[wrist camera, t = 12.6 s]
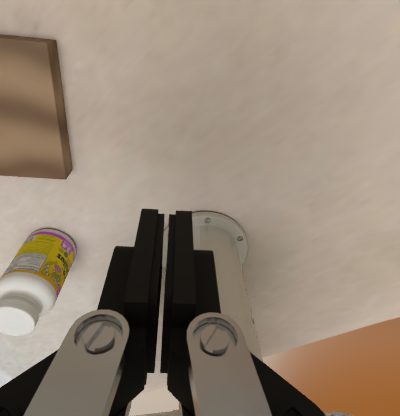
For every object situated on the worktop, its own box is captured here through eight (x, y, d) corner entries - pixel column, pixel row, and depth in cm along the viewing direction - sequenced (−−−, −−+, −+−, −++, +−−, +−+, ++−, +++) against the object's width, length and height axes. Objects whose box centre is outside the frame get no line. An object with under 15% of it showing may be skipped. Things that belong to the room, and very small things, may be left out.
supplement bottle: (78, 265, 47) (46, 344, 36) (30, 261, 46) (-17, 340, 35) (76, 229, 43) (41, 303, 33) (24, 223, 43) (-29, 298, 32)
